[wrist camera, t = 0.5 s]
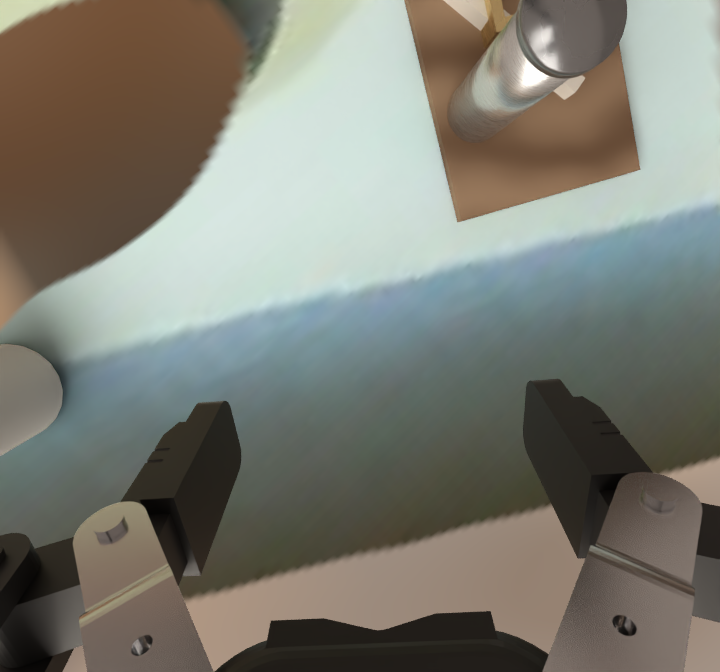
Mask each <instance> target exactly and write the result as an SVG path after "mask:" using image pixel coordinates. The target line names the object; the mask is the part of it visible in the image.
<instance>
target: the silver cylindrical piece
mask: <svg viewBox="0 0 720 672" xmlns="http://www.w3.org/2000/svg"><path fill="white" fill-rule="evenodd" d="M626 18H627V4H626V0H520V1H519V4H518V8H517V11H516V12H515V14H514V15H513V16H512V18H511V19H510V20H509V21H508V23H507V24H506V25H505V27H504V28H503V29H502V31H501V32H500V33H499V34H498V36H497V37H496V38H495V40H494V41H493V42H492V44H491V45H490V46H489V47H488V49H487V50H486V51H485V53H484V54H483V55H482V57H481V58H480V59H479V61H478V62H477V63H476V64H475V66H474V67H473V68H472V70H471V71H470V72H469V74H468V75H467V76H466V77H465V79H464V80H463V81H462V83H461V84H460V85H459V87H458V88H457V89H456V90H455V92H454V93H453V95H452V96H451V98H450V100H449V103H448V108H447V117H448V122H449V125H450V127H451V129H452V130H453V132H454V133H455V134H456V135H457V136H458V137H459V138H461V139H462V140H464V141H467V142H470V143H480V142H484V141H486V140H488V139H490V138H491V137H493V136H494V135H495V134H497V133H498V132H499V131H501V130H502V129H503V128H505V127H506V126H507V125H509V124H510V123H511V122H513V121H514V120H515V119H516V118H518V117H519V116H520V115H522V114H523V113H524V112H526V111H527V110H528V109H530V108H531V107H532V106H534V105H535V104H536V103H538V102H539V101H540V100H542V99H543V98H544V97H546V96H547V95H548V94H550V93H551V92H552V91H554V90H555V89H556V88H558V87H559V86H560V85H562V84H563V83H564V82H566V81H567V80H568V79H570V78H575V77H578V76H581V75H583V74H585V73H587V72H589V71H590V70H592V69H593V68H595V67H596V66H597V65H599V64H600V63H601V62H603V61H604V60H605V59H606V58H607V57H609V56H610V54H611V53H612V52H613V51H614V50H615V48H616V46H617V45H618V43H619V41H620V39H621V37H622V34H623V32H624V28H625V24H626Z"/></svg>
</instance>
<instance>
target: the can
mask: <svg viewBox="0 0 720 672" xmlns="http://www.w3.org/2000/svg"><path fill="white" fill-rule="evenodd" d="M62 397H63V389H62V385H61V382H60V378H59V376H58V374H57V372H56V371H55V369H54V368H53V366H52V365H51V363H50V362H48V361H47V360H46V359H45V358H44V357H42V356H41V355H40V354H39V353H38V352H35V351H33V350H31V349H28V348H26V347H24V346H19V345H11V344H1V345H0V456H1V455H3V454H5V453H6V452H8V451H10V450H11V449H13V448H15V447H16V446H18V445H20V444H21V443H23V442H25V441H27V440H28V439H30V438H32V437H33V436H35V435H37V434H38V433H40V432H42V431H43V430H45V429H46V428H47V427H48V426H49V425H50V424H51V423H52V422H53V421H54V420H55V419H56V418H57V415H58V413H59V411H60V409H61V406H62Z"/></svg>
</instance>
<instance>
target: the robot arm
mask: <svg viewBox="0 0 720 672" xmlns="http://www.w3.org/2000/svg"><path fill="white" fill-rule="evenodd" d="M523 437H524V444H525V448H526V451H527V454H528V456H529V458H530V460H531V462H532V464H533V466H534V468H535V470H536V472H537V475H538V477H539V479H540V481H541V483H542V485H543V487H544V489H545V491H546V493H547V495H548V497H549V499H550V502H551V504H552V506H553V508H554V510H555V512H556V514H557V516H558V518H559V520H560V522H561V524H562V526H563V529H564V531H565V533H566V535H567V537H568V539H569V541H570V543H571V545H572V547H573V549H574V552H575V554H576V556H577V558H586V559H585V562H584V564H583V566H582V569H581V572H580V574H579V577H578V580H577V582H576V585H575V587H574V590H573V593H572V595H571V598H570V601H569V603H568V606H567V609H566V611H565V614H564V616H563V619H562V622H561V624H560V627H559V630H558V632H557V635H556V638H555V640H554V643H553V645H552V648H551V651H550V653H549V654H547V653H546V652H544V651H542V650H541V649H539V648H538V647H536V646H534V645H533V644H531V643H529V642H527V641H525V640H523V639H520V638H518V637H515V636H512V635H510V634H507V633H504V632H499V631H495V627H494V623H493V619H492V615H491V612H490V611H486V612H463V613H440V614H433V615H430V616H427V617H423V618H420V619H417V620H414V621H411V622H408V623H404V624H402V625H398V626H395V627H392V628H389V629H385V630H378V631H377V630H372V629H368V628H363V627H358V626H354V625H350V624H346V623H341V622H337V621H333V620H328V619H302V620H278V621H271V623H270V628H269V634H268V639H267V641H264V642H261V643H258V644H256V645H254V646H252V647H250V648H247V649H245V650H244V651H242V652H240V653H239V654H237V655H235V656H234V657H233V658H231V659H230V660H228V661H227V662H226V663H224V664H223V665H222V666H221V667H219V668H218V669H217V670H216V671H215V672H684V667H685V659H686V653H687V646H688V638H689V631H690V625H691V618H692V616H695V617H699V618H704V619H708V620H712V621H716V622H720V506H714V505H709V504H705V503H701V502H700V501H699V499H698V497H697V496H696V495H695V494H694V493H693V492H692V491H691V490H690V489H689V488H687V487H686V486H685V485H683V484H681V483H680V482H678V481H676V480H674V479H672V478H669V477H667V476H664V475H660V474H656V473H653V472H652V471H651V469H650V468H649V467H648V466H647V464H646V463H645V462H644V461H643V460H642V458H641V457H640V456H639V455H638V453H637V452H636V451H635V450H634V448H633V447H632V446H631V445H630V443H629V442H628V441H627V440H626V439H625V437H624V436H623V435H620V431H619V430H618V429H617V427H616V426H615V425H614V424H613V423H611V420H610V419H609V418H608V416H607V415H606V414H605V413H604V411H603V410H602V409H601V408H600V407H599V406H597V405H596V404H594V403H592V402H591V401H589V400H588V399H586V398H584V397H583V396H581V397H573V396H572V395H571V393H570V392H569V391H568V389H567V388H566V387H565V385H564V384H563V383H562V381H561V380H560V379H549V380H534V381H529V382H528V383H527V387H526V398H525V411H524V424H523ZM147 461H148V462H147V463H145V465H144V466H143V468H142V469H141V471H140V472H139V474H138V476H137V477H136V479H135V480H134V482H133V483H132V485H131V486H130V488H129V489H128V491H127V493H126V494H125V496H124V497H123V499H122V500H121V502H120V503H116V504H113V505H110V506H107V507H105V508H103V509H101V510H99V511H98V512H96V513H95V514H93V515H92V516H90V517H89V518H88V519H87V520H86V521H85V522H84V523H83V524H82V525H81V526H80V527H79V529H78V530H77V532H76V533H75V536H74V537H72V538H69V539H66V540H62V541H59V542H56V543H52V544H49V545H46V546H42V547H39V548H36V549H34V547H33V545H32V543H31V541H30V540H29V538H28V537H27V536H26V535H24V534H20V533H10V534H5V535H1V536H0V672H62V671H63V669H64V667H65V665H66V663H67V661H68V659H69V657H70V655H71V653H72V651H73V649H74V648H76V647H79V646H82V645H83V649H84V655H85V661H86V667H87V672H213V669H212V667H211V664H210V662H209V660H208V657H207V655H206V652H205V650H204V648H203V645H202V643H201V640H200V638H199V636H198V633H197V631H196V628H195V626H194V623H193V621H192V619H191V616H190V614H189V611H188V609H187V607H186V604H185V602H184V599H183V597H182V594H181V592H180V590H179V587H178V586H179V583H180V581H181V578H182V576H197V575H201V573H202V570H203V568H204V565H205V562H206V559H207V557H208V554H209V551H210V549H211V546H212V543H213V540H214V538H215V535H216V532H217V529H218V527H219V524H220V521H221V519H222V516H223V513H224V510H225V508H226V505H227V502H228V499H229V497H230V494H231V491H232V488H233V486H234V483H235V480H236V478H237V475H238V472H239V469H240V464H241V448H240V443H239V439H238V435H237V431H236V427H235V423H234V420H233V416H232V412H231V408H230V405H229V403H228V402H227V401H217V402H202V403H198V404H197V405H196V406H195V408H194V409H193V411H192V413H191V414H190V416H189V418H188V419H187V421H186V422H179V423H178V424H176V425H175V426H174V427H173V428H172V429H170V430H169V431H168V432H167V433H165V434H164V435H163V437H162V438H161V440H160V441H159V443H158V445H157V446H156V448H155V451H153V452H152V454H151V455H150V457H149V458H148V460H147Z"/></svg>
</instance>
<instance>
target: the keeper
mask: <svg viewBox="0 0 720 672" xmlns="http://www.w3.org/2000/svg"><path fill="white" fill-rule="evenodd" d="M484 1H485V6H486V11H487V15H488V21H487V22H486V24H485V25H484V27H483V28H482V30H481V35H482V40H483V45H484V48H487V47H489V46H490V45H491V44H492V42H493V41H494V40H495V38H496V37H497V36H498V34H499V33H500V32H501V31H502V29H503V28H504V27H505V25H506V24H507V23H508V21H509V20H510V19H511V18H512V16H513V15H510V16H506V17H505V15H504V10H503V5H502V0H484Z"/></svg>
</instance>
